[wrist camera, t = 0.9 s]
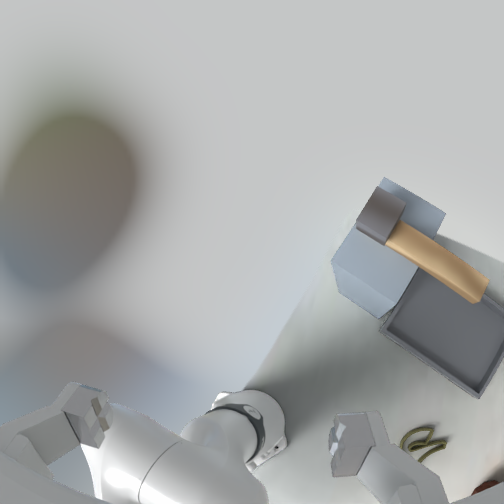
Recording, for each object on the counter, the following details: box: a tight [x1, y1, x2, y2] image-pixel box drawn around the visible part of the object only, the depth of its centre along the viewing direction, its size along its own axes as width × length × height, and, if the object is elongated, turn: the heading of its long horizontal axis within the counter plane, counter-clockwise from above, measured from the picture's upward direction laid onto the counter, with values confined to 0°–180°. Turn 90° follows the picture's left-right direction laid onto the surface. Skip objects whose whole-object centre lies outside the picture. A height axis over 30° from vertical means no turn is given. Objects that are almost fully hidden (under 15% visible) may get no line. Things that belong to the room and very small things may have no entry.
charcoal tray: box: [379, 267, 504, 399], centre depth 51 cm, size 18×27×4 cm, turn 53°
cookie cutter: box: [400, 427, 447, 463], centre depth 46 cm, size 18×12×2 cm, turn 160°
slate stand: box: [331, 177, 446, 319], centre depth 49 cm, size 14×10×26 cm
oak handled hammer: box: [356, 186, 489, 304], centre depth 32 cm, size 5×18×6 cm, turn 52°
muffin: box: [471, 480, 499, 496], centre depth 32 cm, size 12×11×10 cm
